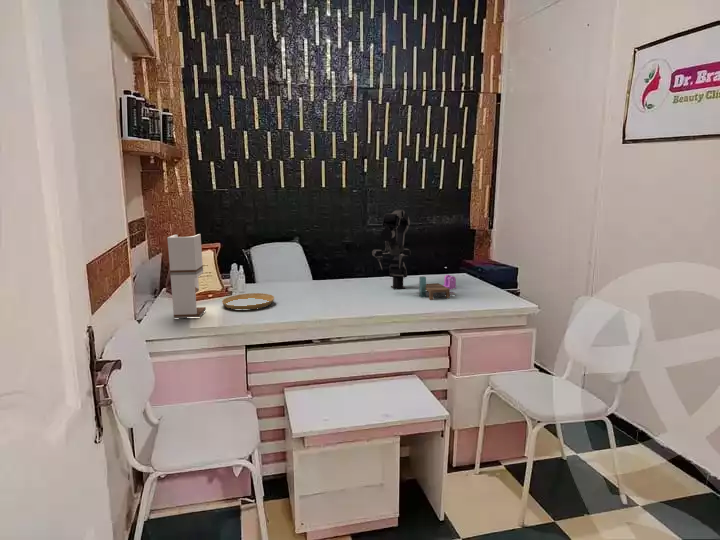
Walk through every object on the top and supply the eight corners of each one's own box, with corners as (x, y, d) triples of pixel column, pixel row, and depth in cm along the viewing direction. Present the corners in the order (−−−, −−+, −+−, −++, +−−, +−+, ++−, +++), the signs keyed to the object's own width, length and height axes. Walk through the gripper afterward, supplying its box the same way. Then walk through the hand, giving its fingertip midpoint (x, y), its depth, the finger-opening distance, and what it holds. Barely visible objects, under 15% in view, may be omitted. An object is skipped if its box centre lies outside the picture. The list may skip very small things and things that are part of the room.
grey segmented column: (199, 318, 207) (193, 237, 201) (174, 319, 206) (167, 237, 200) (205, 311, 218) (200, 234, 212) (181, 312, 217) (175, 234, 211)
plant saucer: (222, 314, 215) (221, 307, 214) (222, 301, 238) (222, 295, 237) (277, 309, 221) (276, 302, 220) (272, 298, 244) (271, 291, 243)
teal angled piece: (419, 296, 243) (419, 276, 242) (444, 294, 246) (445, 275, 245) (421, 297, 241) (421, 277, 239) (446, 295, 244) (447, 276, 242)
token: (443, 294, 248) (443, 292, 248) (452, 293, 249) (452, 291, 249) (448, 296, 243) (448, 294, 243) (457, 295, 244) (457, 293, 244)
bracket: (450, 286, 265) (450, 274, 264) (455, 288, 260) (455, 276, 258) (429, 288, 260) (429, 276, 259) (434, 291, 255) (434, 278, 254)
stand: (419, 293, 250) (419, 284, 249) (437, 292, 252) (438, 283, 251) (430, 299, 236) (430, 290, 235) (449, 298, 238) (449, 289, 237)
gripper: (377, 241, 233) (377, 273, 236) (414, 239, 237) (414, 271, 240) (371, 238, 243) (371, 269, 246) (407, 237, 248) (406, 267, 250)
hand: (391, 269), depth 245 cm, fingers open, 9 cm apart
